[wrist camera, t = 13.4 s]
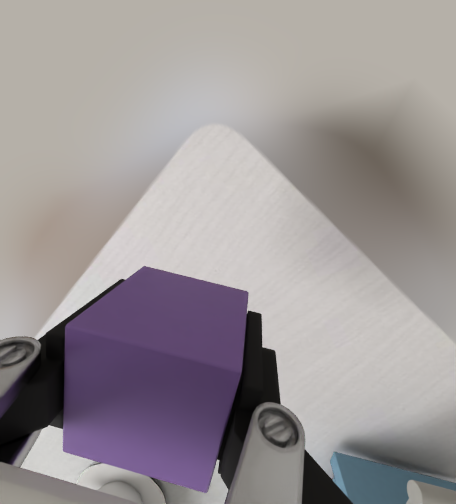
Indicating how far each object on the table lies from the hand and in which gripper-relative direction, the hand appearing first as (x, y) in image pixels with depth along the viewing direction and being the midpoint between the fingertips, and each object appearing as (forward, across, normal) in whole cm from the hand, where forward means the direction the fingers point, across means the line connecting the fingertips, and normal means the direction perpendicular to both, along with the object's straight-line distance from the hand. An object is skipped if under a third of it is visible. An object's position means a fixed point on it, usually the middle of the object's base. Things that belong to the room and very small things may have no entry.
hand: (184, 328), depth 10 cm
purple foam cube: (0, 0, 0) cm, 0 cm away
